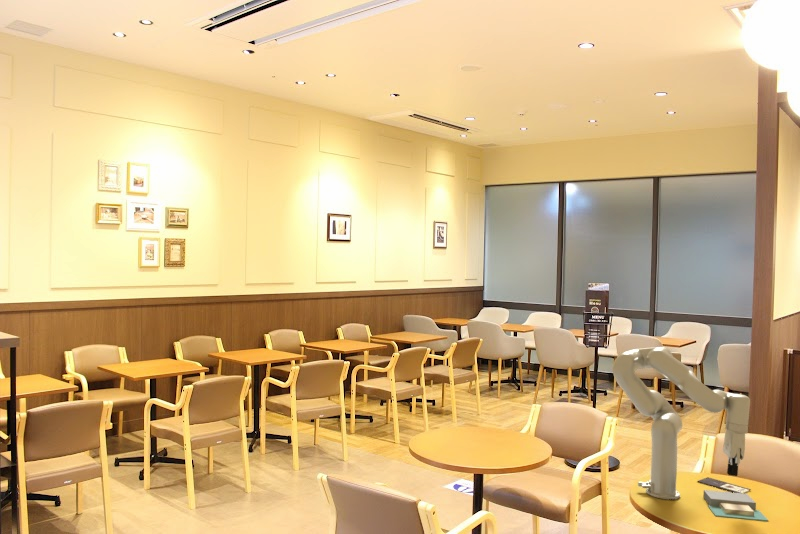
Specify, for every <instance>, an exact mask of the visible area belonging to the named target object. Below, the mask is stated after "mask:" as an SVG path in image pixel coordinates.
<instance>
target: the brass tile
mask: <svg viewBox="0 0 800 534" xmlns="http://www.w3.org/2000/svg"><path fill="white" fill-rule="evenodd" d="M719 507H720V508H721V509H722V510H723V511H724V512H725V513H729V514H739V515H750V516H754V511H753V510H752V509H751V508H750V507H749V506H748V505H745V504H734V503H723V502H720V504H719Z"/></svg>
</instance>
